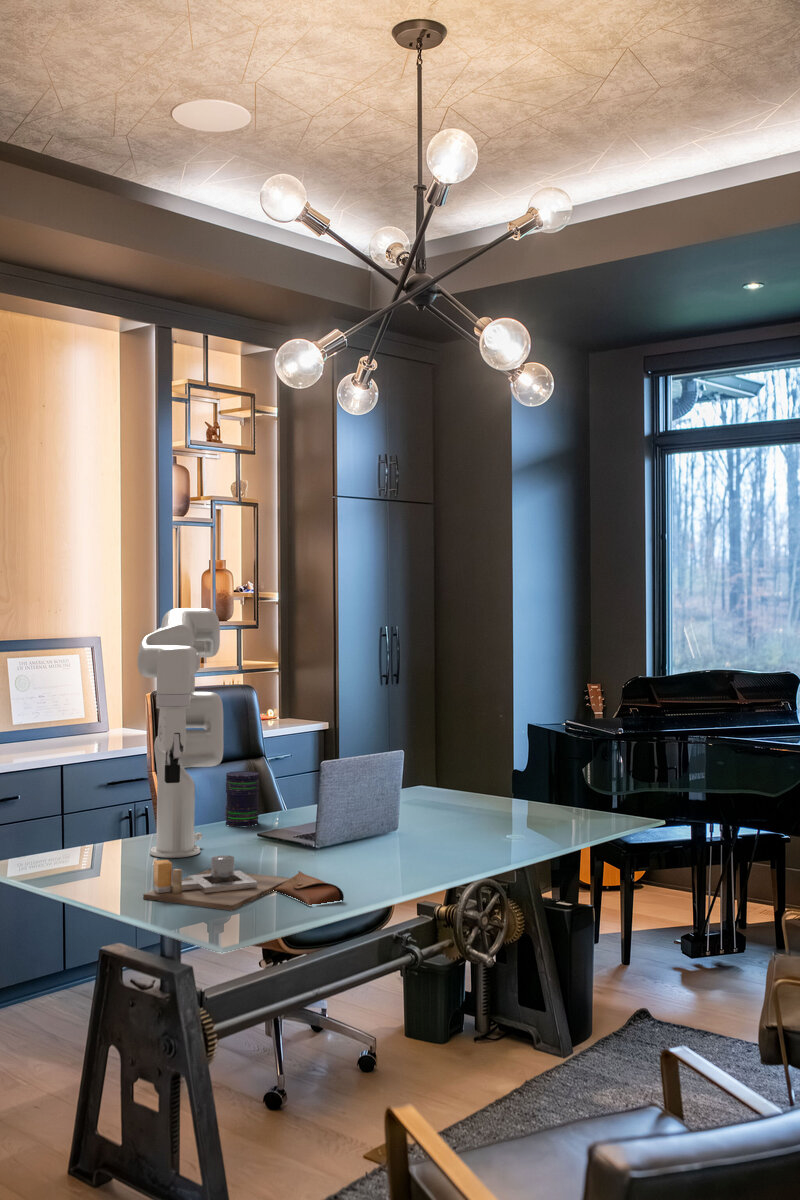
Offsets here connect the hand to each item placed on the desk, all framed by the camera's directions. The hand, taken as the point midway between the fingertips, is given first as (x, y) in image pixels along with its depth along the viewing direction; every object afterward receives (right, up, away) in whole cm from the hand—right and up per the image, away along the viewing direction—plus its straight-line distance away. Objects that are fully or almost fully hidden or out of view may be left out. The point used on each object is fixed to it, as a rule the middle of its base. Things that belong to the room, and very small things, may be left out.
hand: (172, 782), depth 241 cm
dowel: (+4, -22, -12) cm, 25 cm away
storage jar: (+5, -25, +73) cm, 77 cm away
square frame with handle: (+8, -22, -7) cm, 24 cm away
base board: (+12, -23, -6) cm, 27 cm away
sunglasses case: (+31, -24, -9) cm, 40 cm away
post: (+12, -22, -5) cm, 26 cm away
